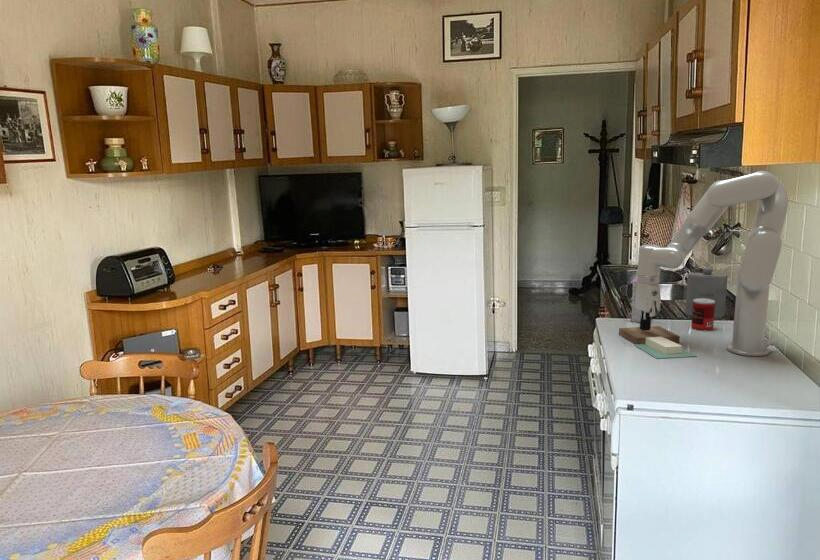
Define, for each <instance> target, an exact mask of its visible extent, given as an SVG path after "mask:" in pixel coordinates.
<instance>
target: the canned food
mask: <svg viewBox="0 0 820 560" xmlns="http://www.w3.org/2000/svg"><path fill="white" fill-rule="evenodd" d="M714 312H715V301H714V300H711V299H704V298H698V299H694V300H693V310H692V316H691V328H692V329H693V330H695V329H696V331H700V330H710V331H712V330H713V328H714V323H715V318H714Z"/></svg>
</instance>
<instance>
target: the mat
mask: <svg viewBox="0 0 820 560" xmlns="http://www.w3.org/2000/svg"><path fill="white" fill-rule="evenodd" d="M633 346H634V347H636V348H637V349H639V350H641V351H642V352H644V353H646V354H647V355H649V356H651V357H652V358H654V359H656V360H660V359H661V360H662V359H683V358H696V357H697V355H696V354H694V353H692V352H690V351H688V350H686V349H684V348H683V347H682V353H677V354H664V353H662V352H660V351H658V350H655V349H653V348H651V347H649V346H647V345H645V344H634V343H633Z"/></svg>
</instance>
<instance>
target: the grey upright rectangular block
mask: <svg viewBox="0 0 820 560" xmlns="http://www.w3.org/2000/svg"><path fill="white" fill-rule="evenodd" d="M713 271H714V270H713V268H711V267H705V268H702V272H689V273H687V278H686V279H687V280H686V291H685V309H684V315H685V316H687V317H692V310H693V300H694V299H698V298H704V299H711V300H714V301H715V312H714V319H723V318H725V315H726V314H725V313H726V312H725V311H726V299H727V288H728V287H727V286H728V275H727V274H726V273H725V274H724V273H713ZM722 317H723V318H722Z"/></svg>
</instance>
